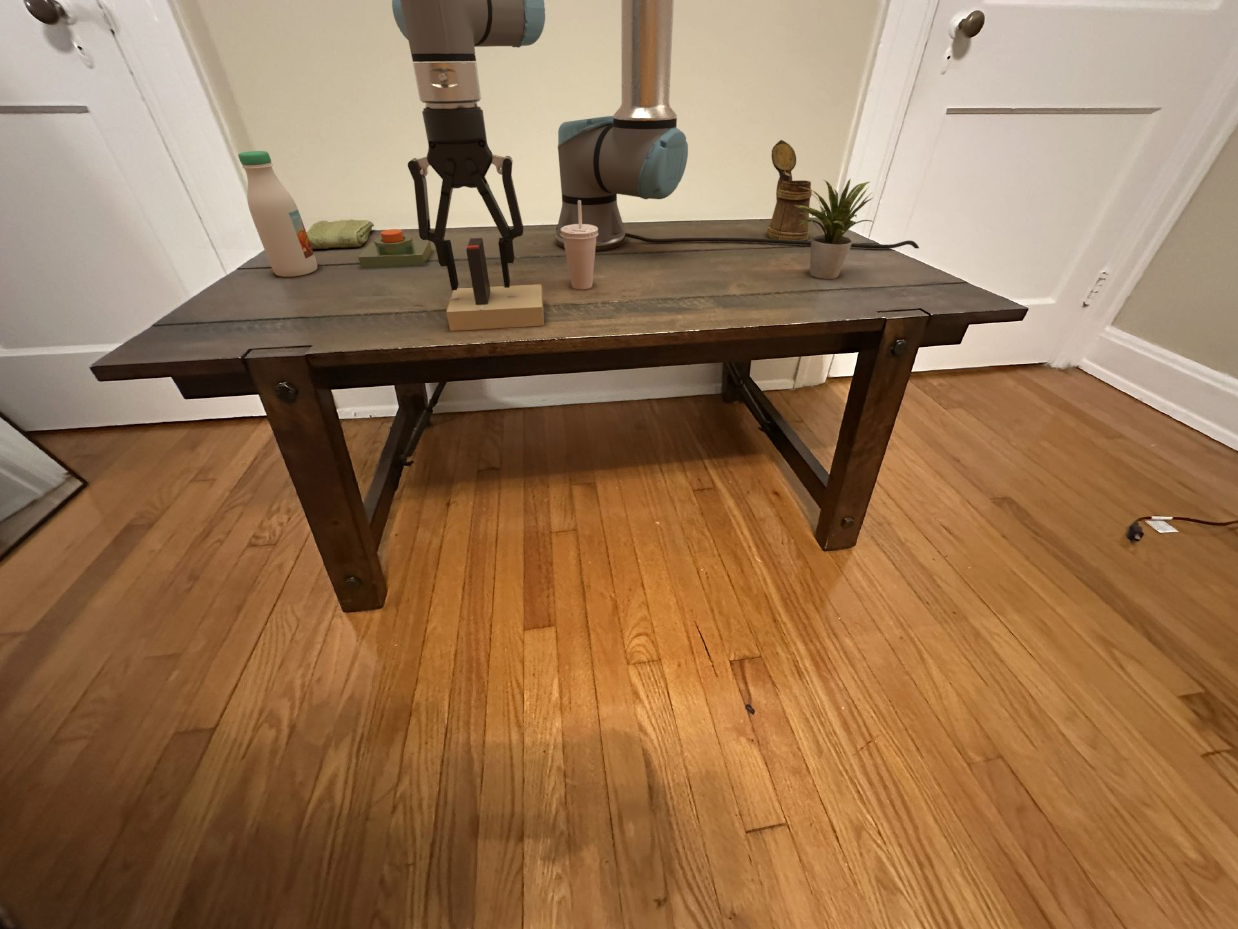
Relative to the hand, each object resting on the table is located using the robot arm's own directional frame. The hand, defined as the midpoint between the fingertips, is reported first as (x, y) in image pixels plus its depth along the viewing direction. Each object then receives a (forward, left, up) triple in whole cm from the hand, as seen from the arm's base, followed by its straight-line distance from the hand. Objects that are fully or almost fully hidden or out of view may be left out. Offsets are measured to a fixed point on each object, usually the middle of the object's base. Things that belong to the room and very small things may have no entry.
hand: (481, 285), depth 81 cm
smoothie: (-16, -12, -5) cm, 21 cm away
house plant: (-62, -13, -5) cm, 64 cm away
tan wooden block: (-2, 0, -5) cm, 5 cm away
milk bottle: (+38, -28, -5) cm, 47 cm away
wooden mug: (-64, -40, -5) cm, 76 cm away
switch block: (+20, -33, -5) cm, 39 cm away
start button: (+20, -33, -1) cm, 39 cm away
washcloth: (+36, -50, -5) cm, 62 cm away
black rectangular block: (0, 0, -2) cm, 2 cm away
